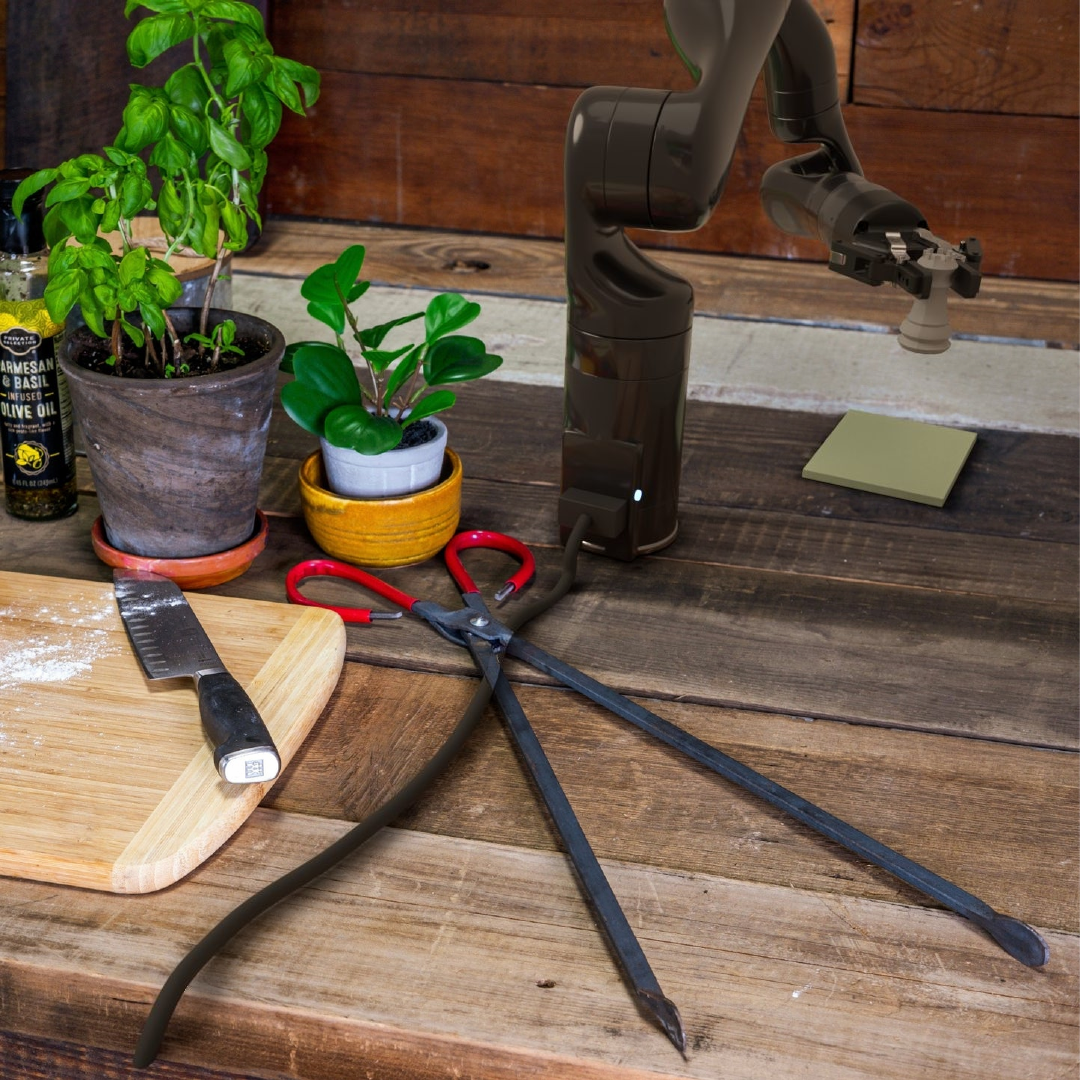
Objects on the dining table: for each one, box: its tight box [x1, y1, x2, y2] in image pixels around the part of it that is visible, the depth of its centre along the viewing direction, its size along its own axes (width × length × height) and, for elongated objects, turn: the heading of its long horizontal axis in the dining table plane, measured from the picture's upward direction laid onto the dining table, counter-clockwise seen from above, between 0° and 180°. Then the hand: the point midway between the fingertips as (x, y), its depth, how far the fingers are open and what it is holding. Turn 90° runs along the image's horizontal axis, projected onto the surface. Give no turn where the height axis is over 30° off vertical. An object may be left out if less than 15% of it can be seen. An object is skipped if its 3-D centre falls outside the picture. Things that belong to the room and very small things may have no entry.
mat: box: [801, 408, 978, 508], centre depth 113 cm, size 16×12×1 cm
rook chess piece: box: [896, 248, 958, 355], centre depth 103 cm, size 4×4×8 cm
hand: (950, 286), depth 100 cm, fingers closed on rook chess piece, 3 cm apart
